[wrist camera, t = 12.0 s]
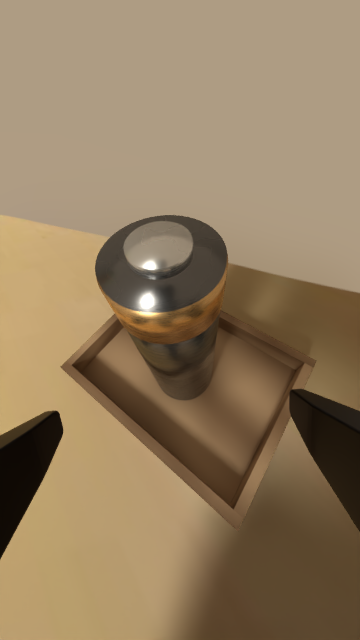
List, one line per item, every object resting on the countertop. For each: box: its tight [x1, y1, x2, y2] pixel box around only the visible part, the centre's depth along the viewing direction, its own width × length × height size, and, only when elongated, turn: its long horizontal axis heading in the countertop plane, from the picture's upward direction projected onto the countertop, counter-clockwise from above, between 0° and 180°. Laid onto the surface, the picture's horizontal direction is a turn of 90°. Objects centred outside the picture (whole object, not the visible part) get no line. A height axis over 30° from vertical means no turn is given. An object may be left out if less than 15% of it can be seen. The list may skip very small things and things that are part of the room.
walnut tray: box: [61, 310, 316, 531], centre depth 17 cm, size 11×15×2 cm
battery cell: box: [95, 215, 228, 400], centre depth 12 cm, size 4×4×12 cm
